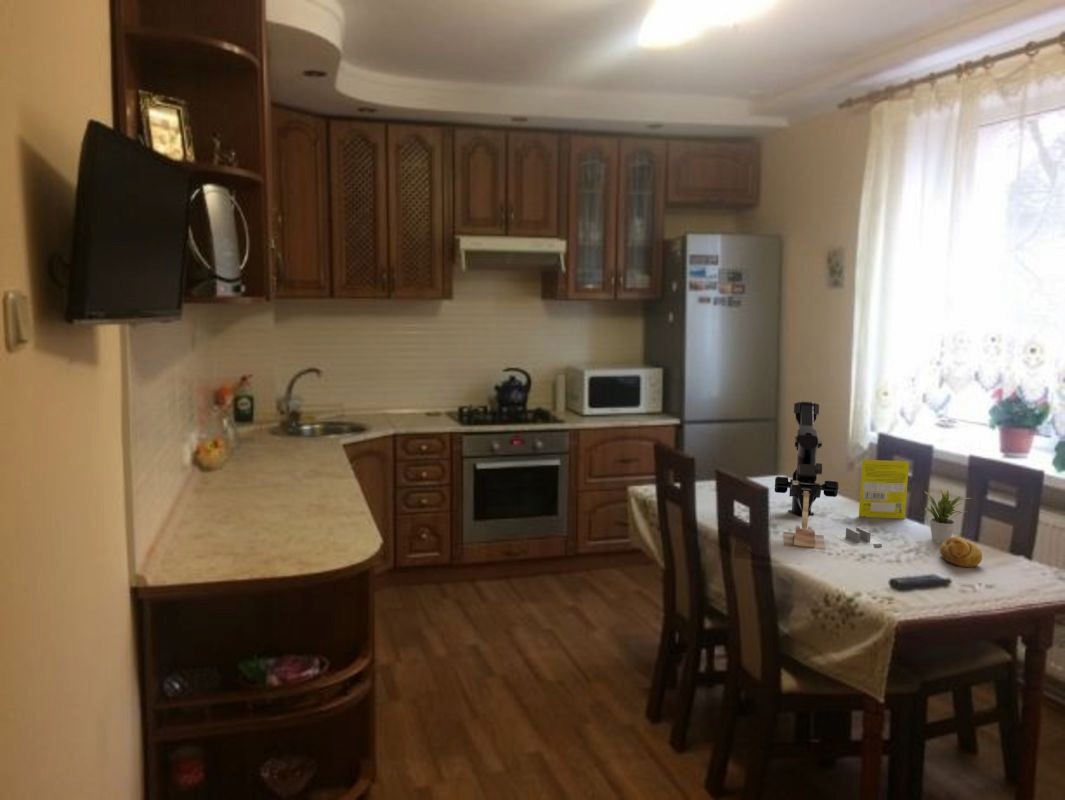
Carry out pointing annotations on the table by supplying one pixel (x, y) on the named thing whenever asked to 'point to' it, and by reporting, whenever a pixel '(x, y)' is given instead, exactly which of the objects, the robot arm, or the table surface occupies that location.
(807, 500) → the tan wooden block
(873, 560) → the table surface
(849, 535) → the slate stand
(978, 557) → the bread roll
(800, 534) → the upper offcut
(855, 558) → the table surface
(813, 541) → the lower offcut
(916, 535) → the table surface
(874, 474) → the food package
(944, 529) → the house plant
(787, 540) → the offcut rack
